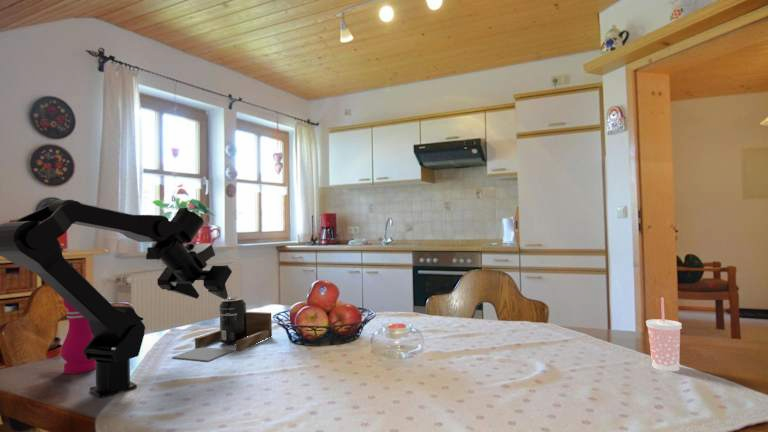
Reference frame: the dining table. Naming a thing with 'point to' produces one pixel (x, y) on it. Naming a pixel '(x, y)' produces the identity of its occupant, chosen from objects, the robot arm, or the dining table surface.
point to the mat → (203, 354)
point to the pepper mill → (76, 343)
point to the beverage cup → (664, 342)
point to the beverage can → (232, 320)
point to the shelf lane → (256, 331)
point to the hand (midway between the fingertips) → (212, 297)
